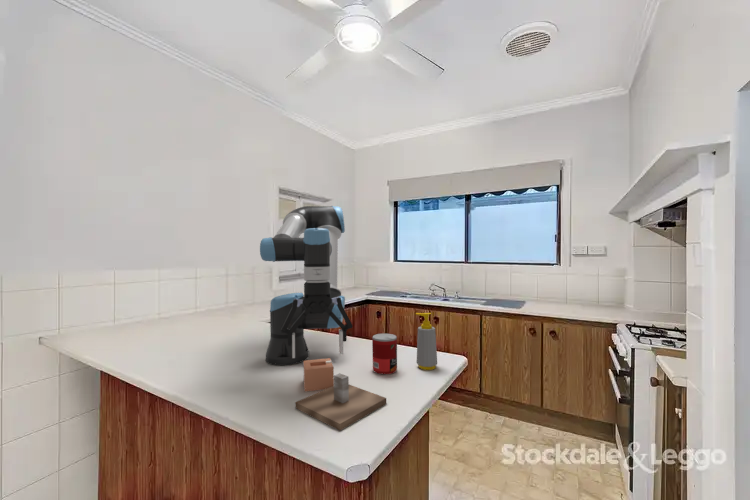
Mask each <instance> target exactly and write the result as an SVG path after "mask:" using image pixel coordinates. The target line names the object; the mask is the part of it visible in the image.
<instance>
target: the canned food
mask: <svg viewBox="0 0 750 500" xmlns="http://www.w3.org/2000/svg"><path fill="white" fill-rule="evenodd" d="M371 349H372V370H373V372H375V373H376V374H379V375H391V374H394V373H396V372H397V369H398V338H397V335H396V334H392V333H377V334H373V335H372V347H371Z"/></svg>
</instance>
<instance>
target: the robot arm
mask: <svg viewBox="0 0 750 500" xmlns="http://www.w3.org/2000/svg"><path fill="white" fill-rule="evenodd" d="M344 218H345V217H344V211H343V208H342V207H341V206H339V205H337V206H336V205H335V206H334V205H330V206H329V205H327V206H324V205H323V206H320V205H319V206H318V205H317V206H316V205H315V206H314V205H313V206H312V205H311V206H310V205H306V206H305V205H304V206H300V207H297V208H295V209H293V210H292V211H289V212H288V213H286V215H285V216H284V218H283V221H282V225H281V227H280V228H279V229H278V231H277V232H276V234H275V235H274V237H264V238H262V239H261V241H260V243H259V244H260V245H259V255H260V258H261V259H262V261H264V262H272V263H274V262H303V280H304V281H305V282H304V283H303V292H293V293H285V294H282V295H281V294H280V295H277V296H274V297H273V298H272V299H271V300H270V304H269V305H270V306H269V307H270V308H269V309H270V310H269V314H270V315H269V320H270V321H269V322H270V325H269V329H270V339H269V342H268V346H267V348H266V353H265V362H266V363H268V364H270V365H275V366H288V365H294V364H299V363H302V362H304V361H305V360H308V359H309V358H310V357H309V356H310V355H309V353H310V352H309V351H310V350H309V347H308V345H307V342H306V338H305V335H304V334H305V333H304V330H321V329H322V330H323V329H328V330H330V329H338V328H340V329H338V344H339V345H338V347H339V348H338V350H339V351H338V352H339V354H340V355H343V354H344V342H347V331H348V330H349V329H350V330H351V329H352V328H353V324H352V323H353V322H351V320H350V318H349V316H348V314H347V312H346V310H345V304H346V297H345V295H342V291H341V289H339V288H338V254H339V253H338V251H339V250H338V245H339V243H338V242H339V241H338V240H339V239H340V238H341V237H342V234H343V233H345V231H346V229H345V228H346V227H345V220H344ZM302 234H303V237H300V236H301V235H302ZM343 320H344V322H345V323H346V324H344V323H343Z"/></svg>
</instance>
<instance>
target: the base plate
mask: <svg viewBox="0 0 750 500" xmlns="http://www.w3.org/2000/svg"><path fill="white" fill-rule="evenodd" d="M349 380H350V379H349V375H345V374H343V373H340V372H339V373H337V374H334V386H332V387H330V388H327V389H323V390H319V391H317V392H316V393H313V394H311V395H309V396H306V397H304V398H302V399H299V400H297V401H295V402H294V406H295V409H296V410H298V411H300V412H302V413H305V414H306V415H308V416H310V417H312V418H314V419H315V420H318V421H320V422H322V423H324V424H326V425H328V426H329V427H331V428H334V429H335V430H337V431H342V430H344V429H346V428H348V427H349V426H351V425H352V424H354V423H356V422H358V421H359V420H361V419H362V418H365V417H366V416H368V415H370V414H372V413H374V412H375V411H377V410H378V409H380V408H382V407H383V406H385V405H387V397H386V396H383V395H380V394H376V393H374V392H371V391H368V390H366V389H362V388H360V387H357V386H354V385H352V384H349V383H350V382H349Z"/></svg>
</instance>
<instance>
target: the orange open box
mask: <svg viewBox="0 0 750 500" xmlns="http://www.w3.org/2000/svg"><path fill="white" fill-rule="evenodd" d="M334 369H335V368H334V364H333V362H332V360H331V357H328V358H316V359H306V360H304V361H303V386H304V388H303V389H304V392H315V391H323V390H325V389H327V388H330V387H332V386H334V375H335V373H334Z"/></svg>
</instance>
